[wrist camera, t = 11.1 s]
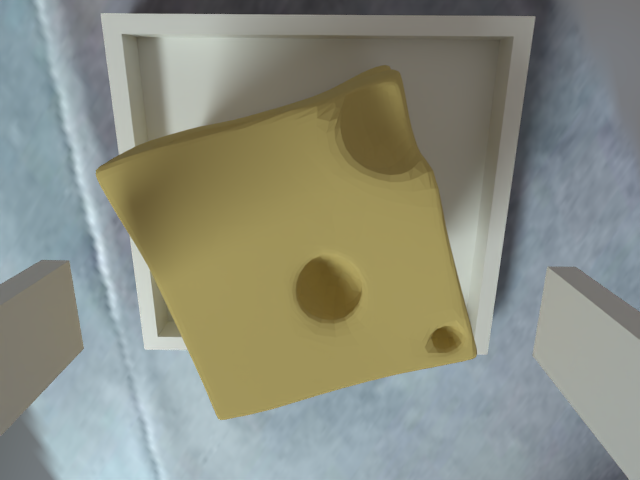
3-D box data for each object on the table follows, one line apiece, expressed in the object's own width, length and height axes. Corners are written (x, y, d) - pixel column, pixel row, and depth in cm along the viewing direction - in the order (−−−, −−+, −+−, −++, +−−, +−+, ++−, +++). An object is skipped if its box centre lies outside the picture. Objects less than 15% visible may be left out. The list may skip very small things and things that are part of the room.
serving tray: (473, 331, 27) (487, 354, 25) (160, 326, 28) (144, 349, 25) (513, 23, 22) (535, 16, 20) (124, 20, 22) (100, 13, 20)
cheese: (382, 64, 22) (424, 51, 13) (432, 266, 25) (494, 376, 16) (180, 129, 23) (78, 162, 14) (252, 314, 26) (210, 444, 17)
